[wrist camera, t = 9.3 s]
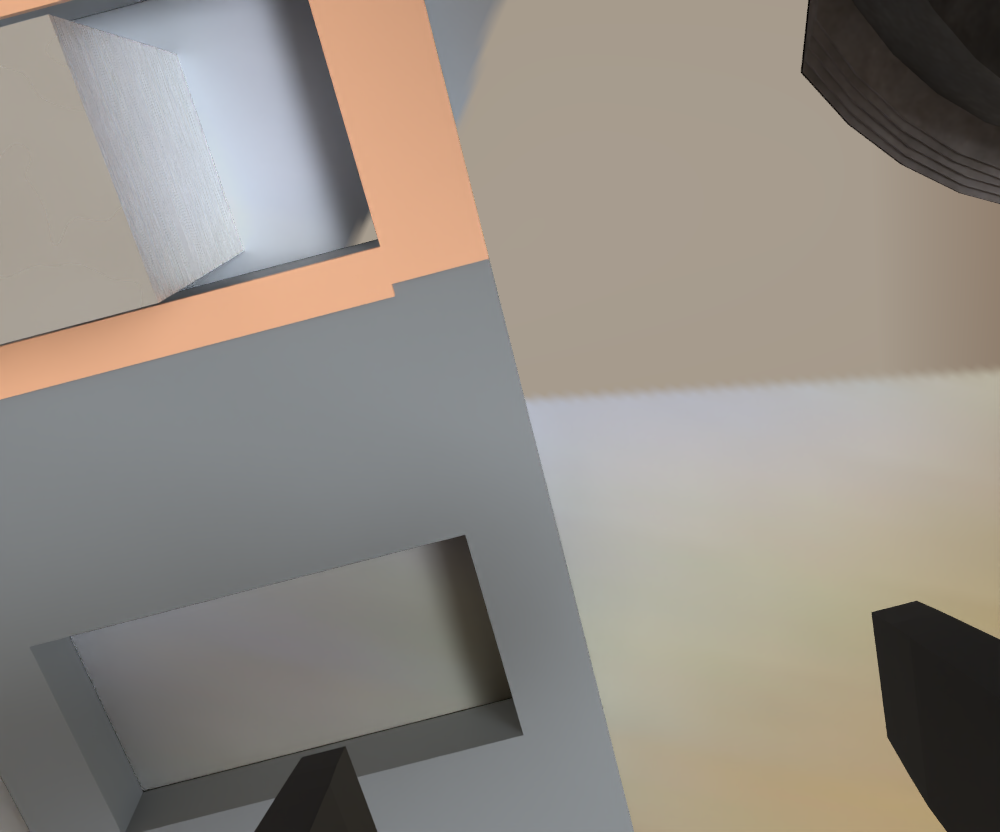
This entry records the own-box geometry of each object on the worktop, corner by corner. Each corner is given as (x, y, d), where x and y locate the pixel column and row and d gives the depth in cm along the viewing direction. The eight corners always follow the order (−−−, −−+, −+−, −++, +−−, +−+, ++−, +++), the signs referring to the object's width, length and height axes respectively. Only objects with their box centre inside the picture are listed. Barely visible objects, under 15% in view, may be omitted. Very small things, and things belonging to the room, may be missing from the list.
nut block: (63, 298, 19) (-102, 371, 13) (-17, 105, 17) (-240, 91, 12) (244, 251, 19) (158, 302, 13) (177, 54, 17) (48, 14, 12)
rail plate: (130, 931, 24) (107, 989, 22) (-412, -126, 16) (-511, -156, 14) (626, 806, 24) (640, 855, 22) (338, -331, 15) (326, -385, 14)
